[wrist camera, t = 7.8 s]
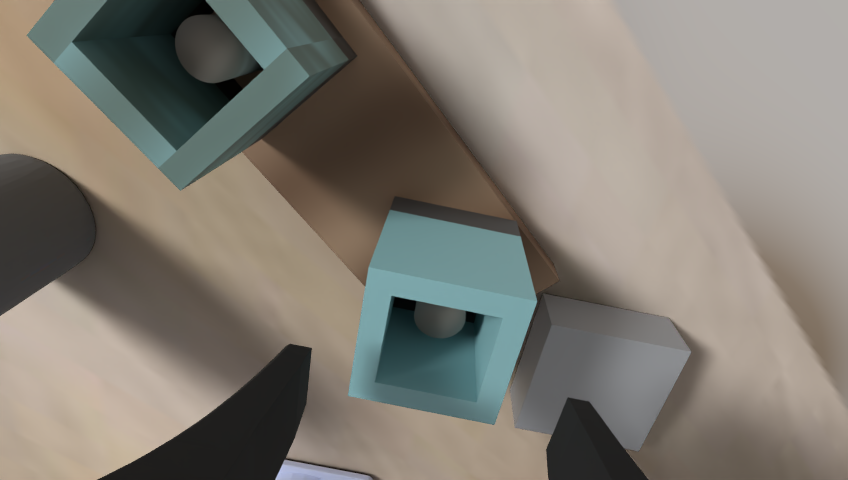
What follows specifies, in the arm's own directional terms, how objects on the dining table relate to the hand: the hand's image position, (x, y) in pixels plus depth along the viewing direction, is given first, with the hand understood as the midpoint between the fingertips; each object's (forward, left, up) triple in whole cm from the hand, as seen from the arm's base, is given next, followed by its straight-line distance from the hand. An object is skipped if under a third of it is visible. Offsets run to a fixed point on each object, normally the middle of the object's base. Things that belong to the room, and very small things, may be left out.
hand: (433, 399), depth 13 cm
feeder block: (-4, -8, -9) cm, 13 cm away
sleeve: (0, 0, -8) cm, 8 cm away
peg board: (+4, +4, -9) cm, 11 cm away
